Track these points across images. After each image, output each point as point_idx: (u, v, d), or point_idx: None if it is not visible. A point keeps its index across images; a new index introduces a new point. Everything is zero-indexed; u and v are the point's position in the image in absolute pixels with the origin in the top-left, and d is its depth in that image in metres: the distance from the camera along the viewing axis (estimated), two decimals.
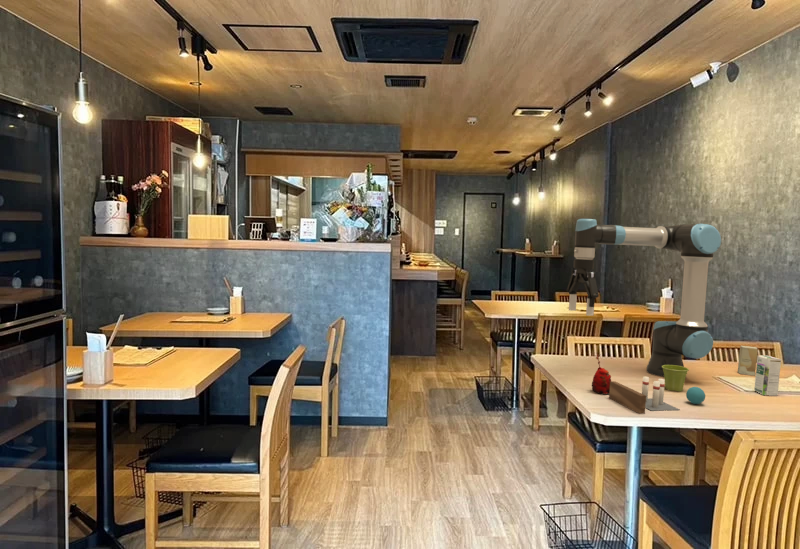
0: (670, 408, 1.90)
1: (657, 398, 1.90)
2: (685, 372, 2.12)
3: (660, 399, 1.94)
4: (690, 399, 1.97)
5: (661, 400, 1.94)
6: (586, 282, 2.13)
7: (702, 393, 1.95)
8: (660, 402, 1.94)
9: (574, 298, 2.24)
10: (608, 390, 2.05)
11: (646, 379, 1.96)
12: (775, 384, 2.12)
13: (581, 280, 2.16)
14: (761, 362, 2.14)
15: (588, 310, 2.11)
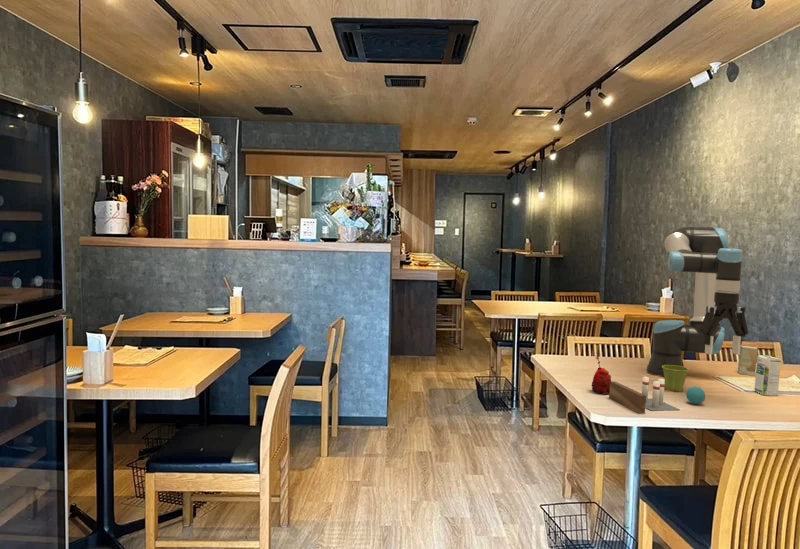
0: (670, 408, 1.90)
1: (657, 398, 1.90)
2: (685, 372, 2.12)
3: (660, 399, 1.94)
4: (690, 399, 1.97)
5: (661, 400, 1.94)
6: (714, 317, 1.98)
7: (702, 393, 1.95)
8: (660, 402, 1.94)
9: (736, 340, 1.99)
10: (608, 390, 2.05)
11: (646, 379, 1.96)
12: (775, 384, 2.12)
13: None
14: (761, 362, 2.14)
15: (706, 348, 1.98)
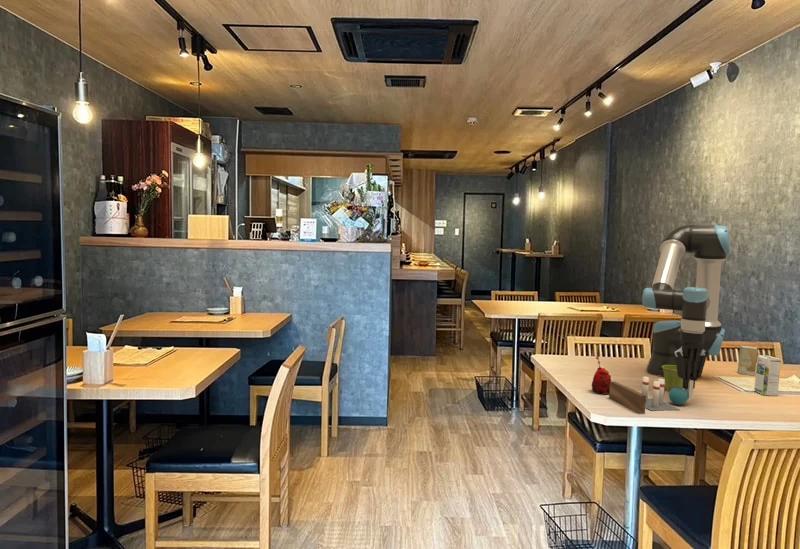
0: (670, 408, 1.90)
1: (657, 398, 1.90)
2: None
3: (660, 399, 1.94)
4: None
5: (661, 400, 1.94)
6: (684, 360, 1.96)
7: (679, 398, 1.93)
8: (660, 402, 1.94)
9: None
10: (608, 390, 2.05)
11: (646, 379, 1.96)
12: (775, 384, 2.12)
13: None
14: (761, 362, 2.14)
15: None
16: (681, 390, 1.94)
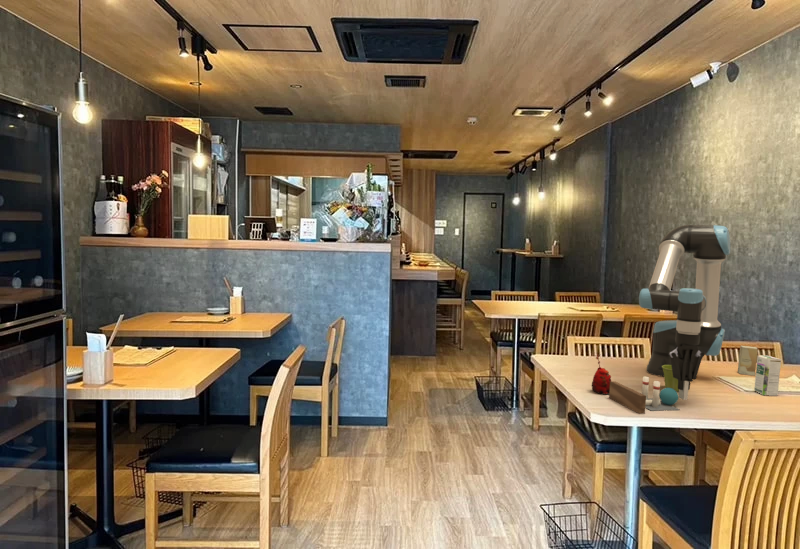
0: (670, 408, 1.90)
1: (657, 398, 1.90)
2: None
3: None
4: None
5: None
6: (679, 360, 1.96)
7: (672, 402, 1.93)
8: None
9: None
10: (608, 390, 2.05)
11: (646, 379, 1.96)
12: (775, 384, 2.12)
13: None
14: (761, 362, 2.14)
15: (679, 392, 1.98)
16: (666, 395, 1.93)
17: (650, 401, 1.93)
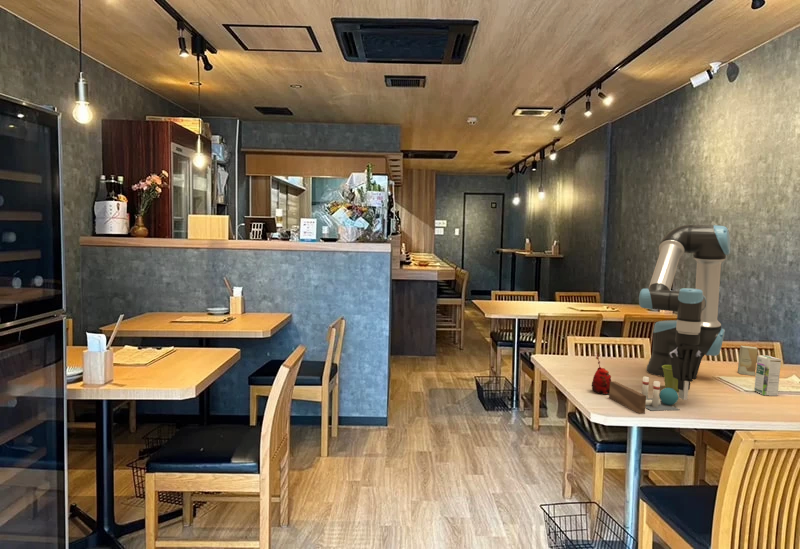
0: (670, 408, 1.90)
1: (657, 398, 1.90)
2: None
3: None
4: None
5: None
6: (679, 360, 1.96)
7: (672, 402, 1.93)
8: None
9: None
10: (608, 390, 2.05)
11: (646, 379, 1.96)
12: (775, 384, 2.12)
13: None
14: (761, 362, 2.14)
15: (679, 392, 1.98)
16: (666, 395, 1.93)
17: (650, 401, 1.93)
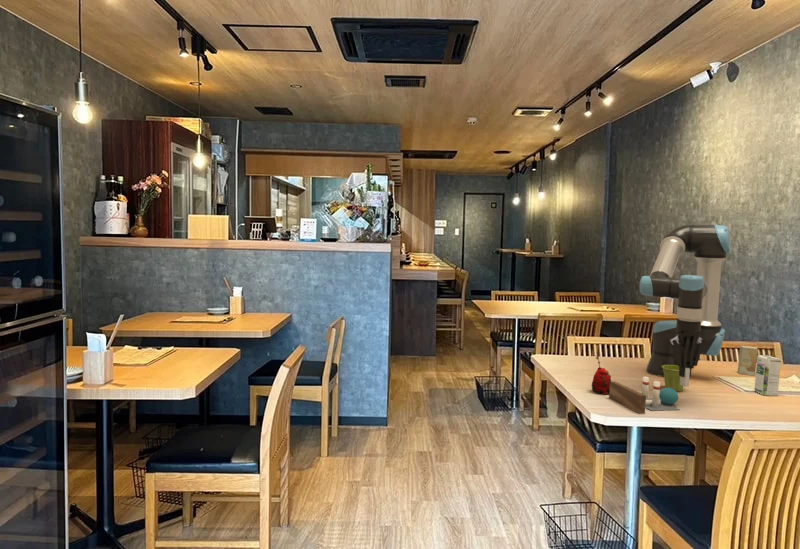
0: (670, 408, 1.90)
1: (657, 398, 1.90)
2: None
3: None
4: None
5: None
6: (680, 347, 1.96)
7: (672, 402, 1.93)
8: None
9: None
10: (608, 390, 2.05)
11: (646, 379, 1.96)
12: (775, 384, 2.12)
13: None
14: (761, 362, 2.14)
15: (681, 379, 1.98)
16: (666, 395, 1.93)
17: (650, 401, 1.93)
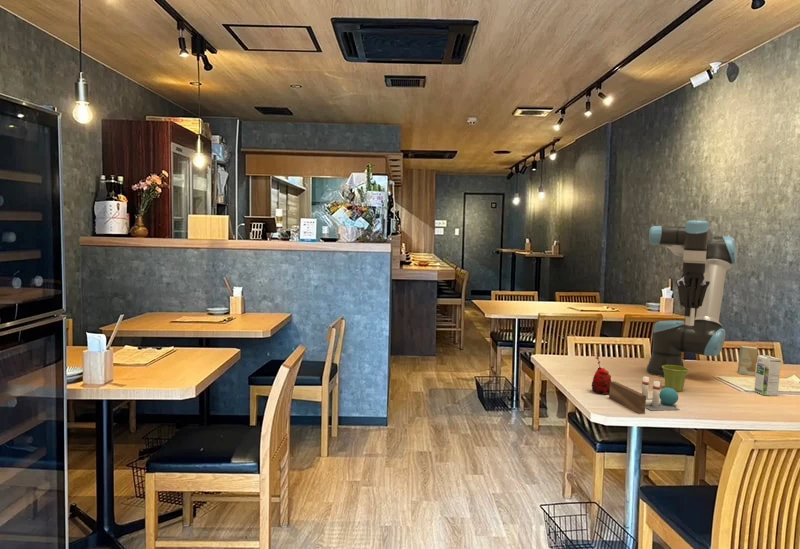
0: (670, 408, 1.90)
1: (657, 398, 1.90)
2: (685, 372, 2.12)
3: None
4: None
5: None
6: (686, 289, 2.08)
7: (672, 402, 1.93)
8: None
9: None
10: (608, 390, 2.05)
11: (646, 379, 1.96)
12: (775, 384, 2.12)
13: None
14: (761, 362, 2.14)
15: (686, 319, 2.09)
16: (666, 395, 1.93)
17: (650, 401, 1.93)
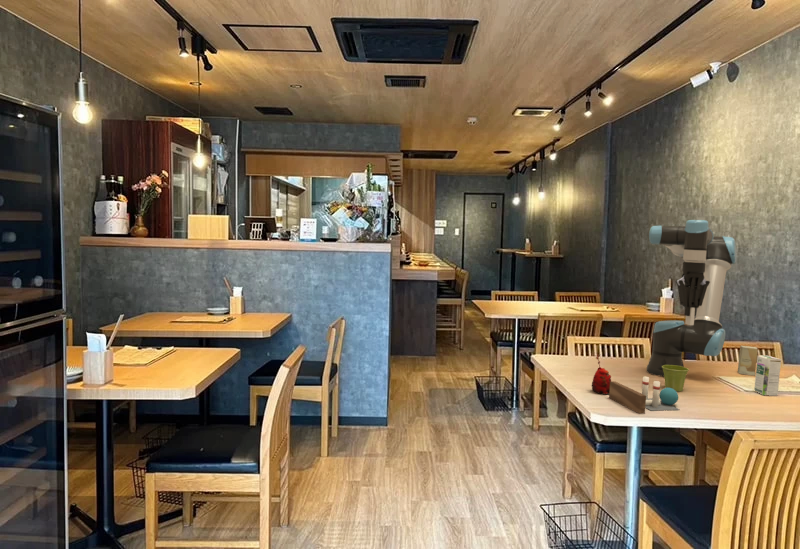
0: (670, 408, 1.90)
1: (657, 398, 1.90)
2: (685, 372, 2.12)
3: None
4: None
5: None
6: (686, 288, 2.08)
7: (672, 402, 1.93)
8: None
9: None
10: (608, 390, 2.05)
11: (646, 379, 1.96)
12: (775, 384, 2.12)
13: None
14: (761, 362, 2.14)
15: (686, 319, 2.09)
16: (666, 395, 1.93)
17: (650, 401, 1.93)
